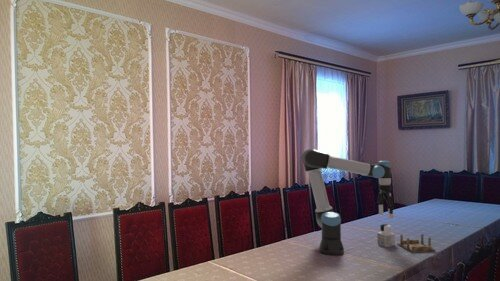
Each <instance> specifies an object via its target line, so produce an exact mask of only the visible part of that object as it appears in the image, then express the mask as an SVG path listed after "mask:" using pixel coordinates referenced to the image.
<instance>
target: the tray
mask: <svg viewBox="0 0 500 281" xmlns="http://www.w3.org/2000/svg"><path fill="white" fill-rule="evenodd" d="M399 237H400V238H399V239H400V241H399V242H397V243H396V245H397V246H398V247H401V248H402V249H404V250H405V251H407V252H409V253H422V252H424V253H425V252H436V249H435V248H432V241H431V240H432V238H431V237H430V236H428V238H427V241H428V242H427V243H428V245H426V244H424V241H425V240H424V233H420V241H419V239H410V237H406V239H403V234H399Z"/></svg>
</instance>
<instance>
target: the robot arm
mask: <svg viewBox="0 0 500 281" xmlns="http://www.w3.org/2000/svg"><path fill="white" fill-rule="evenodd" d="M301 162H302V164H303V167H304V170H305V171H304V172H306V173H307V174H308V178H309V181H310V186H311V190H312V194H313V198H314V202H315V205H316V209H315V210H314V212H315V219H316V220H315V221H316V223H317V225H318V226H319V227H320V228H321V239H320V243H319V245H318V251H319V253H321V254H323V255H329V256H338V255H339V256H340V255H343V254H344V253H345V248H344V245H343V242H342V230H341V229H342V226H341V224H342V219H341V214H339V213H338V212H334V210H333V206H331V205H330V202H329V198H328V194H327V190H326V185H325V182H324V177H323V173H322V170H323V169H325V170H326V169H333V170H337V171H343V172H347V173H353V174H358V175H361V176H363V177H364V176H365V177H372V178H376V179H378V196H377V201H376V202H377V204H378V215H384V201H386V205H387V206H388V208H387V211H388V217H387V218H388V220H390V219H391V220H392V219H394V209H396V207H395V206H396V205H395V203H394V199H393V193H392V192H390V191H392V185H391V184H392V175H391V174H392V169H391V168H392V167H391V162H390V160H379V161H377V162H378V163H375V164H374V163H373V164H371V163H366V162H361V161H357V160H351V159H347V158H344V157H343V158H342V157H339V156H332V155H330V153H327V152H326V153H325V152H323V151H320V150H317V149H313V148H311V149H310V148H309V149H306V150H305V151H304V152H303V153H302V155H301Z"/></svg>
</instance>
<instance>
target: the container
mask: <svg viewBox="0 0 500 281" xmlns="http://www.w3.org/2000/svg"><path fill="white" fill-rule="evenodd" d="M395 235H396V234H395V233H394V232H392V226H391V225H390V224H388V223H387V224H386V223H385V224H380V231H379V232H377V237H376V238H377V244H378V245H379V246H382V247H385V248H386V247H391V246H392V247H393V246H395V245H396V242H395V241H396V240H395V237H396V236H395Z"/></svg>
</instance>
